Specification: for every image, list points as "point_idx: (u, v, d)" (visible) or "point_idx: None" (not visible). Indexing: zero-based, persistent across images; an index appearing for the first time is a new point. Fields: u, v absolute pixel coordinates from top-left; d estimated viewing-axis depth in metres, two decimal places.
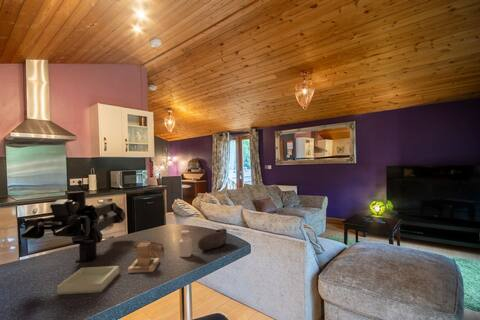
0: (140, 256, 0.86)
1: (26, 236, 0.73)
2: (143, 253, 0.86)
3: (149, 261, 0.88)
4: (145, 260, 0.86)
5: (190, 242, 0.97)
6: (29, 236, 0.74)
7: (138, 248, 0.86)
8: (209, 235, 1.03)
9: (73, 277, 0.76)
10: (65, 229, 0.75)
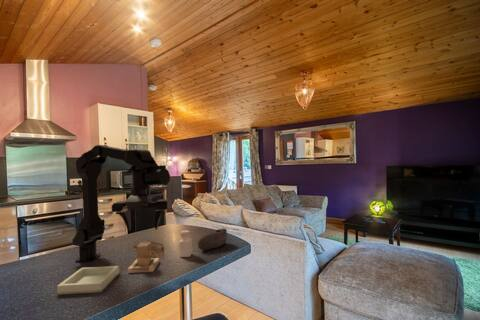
0: (140, 256, 0.86)
1: (130, 226, 0.88)
2: (143, 253, 0.86)
3: (149, 261, 0.88)
4: (145, 260, 0.86)
5: (190, 242, 0.97)
6: (130, 222, 0.88)
7: (138, 248, 0.86)
8: (209, 235, 1.03)
9: (73, 277, 0.76)
10: (158, 221, 0.87)
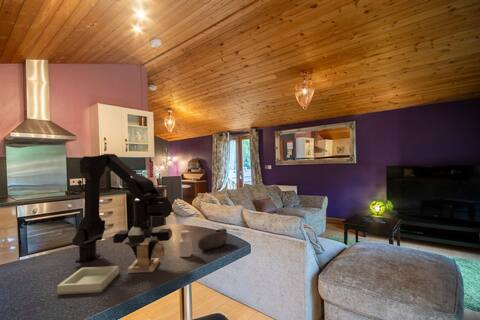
0: (140, 256, 0.86)
1: None
2: (143, 253, 0.86)
3: (149, 261, 0.88)
4: (145, 260, 0.86)
5: (190, 242, 0.97)
6: None
7: (138, 248, 0.86)
8: (209, 235, 1.03)
9: (73, 277, 0.76)
10: (152, 251, 0.87)
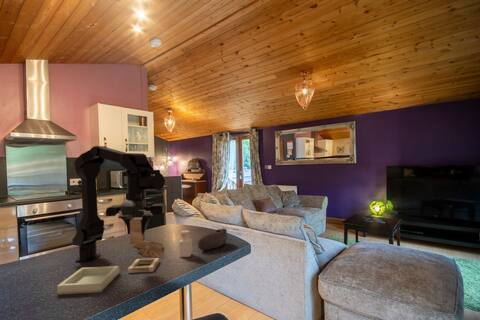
0: (133, 230, 0.84)
1: None
2: (136, 227, 0.85)
3: (142, 236, 0.86)
4: (139, 234, 0.85)
5: (190, 242, 0.97)
6: None
7: (131, 222, 0.84)
8: (209, 235, 1.03)
9: (73, 277, 0.76)
10: (145, 226, 0.86)
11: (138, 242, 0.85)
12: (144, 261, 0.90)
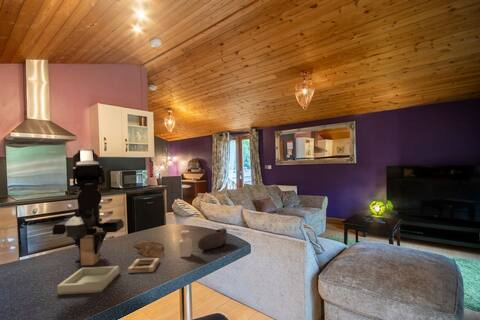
0: (83, 250, 0.75)
1: None
2: (87, 246, 0.75)
3: (96, 256, 0.77)
4: (90, 255, 0.75)
5: (190, 242, 0.97)
6: None
7: (82, 241, 0.75)
8: (209, 235, 1.03)
9: (73, 277, 0.76)
10: (98, 245, 0.77)
11: (90, 263, 0.75)
12: (144, 261, 0.90)
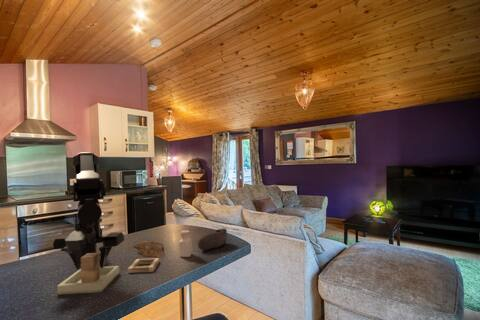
0: (84, 269, 0.75)
1: (80, 263, 0.77)
2: (88, 265, 0.75)
3: (96, 274, 0.77)
4: (91, 274, 0.75)
5: (190, 242, 0.97)
6: (80, 258, 0.78)
7: (82, 260, 0.75)
8: (209, 235, 1.03)
9: (73, 277, 0.76)
10: (104, 258, 0.77)
11: None
12: (144, 261, 0.90)
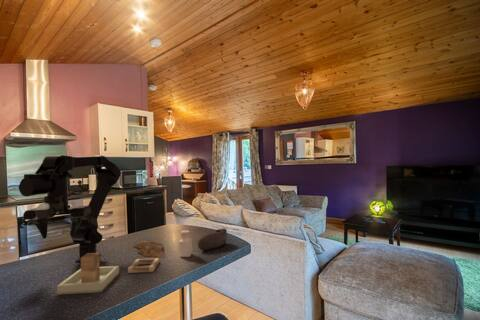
0: (84, 269, 0.75)
1: (46, 233, 0.86)
2: (88, 265, 0.75)
3: (96, 274, 0.77)
4: (91, 274, 0.75)
5: (190, 242, 0.97)
6: (46, 229, 0.86)
7: (82, 260, 0.75)
8: (209, 235, 1.03)
9: (73, 277, 0.76)
10: (75, 228, 0.86)
11: None
12: (144, 261, 0.90)
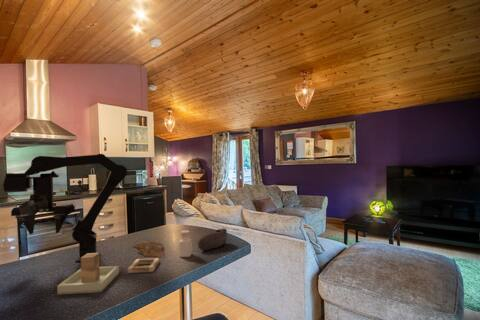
0: (84, 269, 0.75)
1: (33, 229, 0.91)
2: (88, 265, 0.75)
3: (96, 274, 0.77)
4: (91, 274, 0.75)
5: (190, 242, 0.97)
6: (33, 226, 0.91)
7: (82, 260, 0.75)
8: (209, 235, 1.03)
9: (73, 277, 0.76)
10: (59, 225, 0.90)
11: None
12: (144, 261, 0.90)
